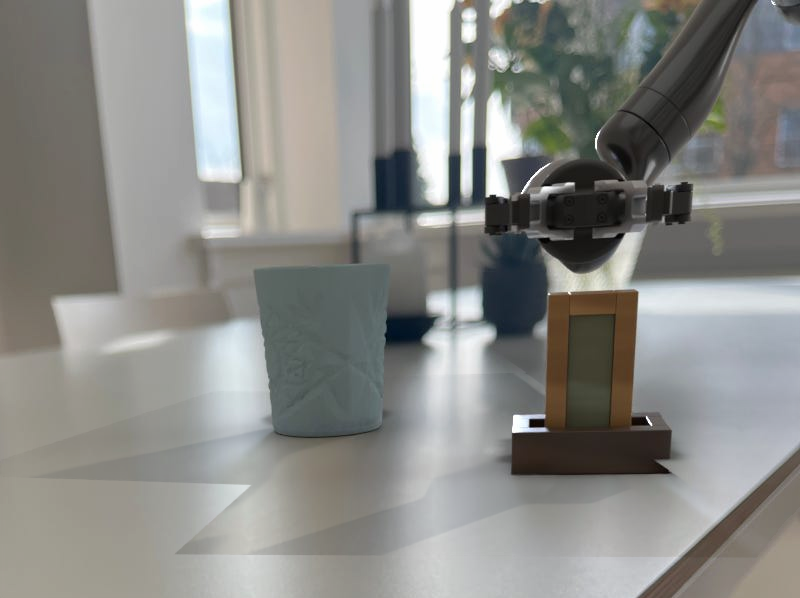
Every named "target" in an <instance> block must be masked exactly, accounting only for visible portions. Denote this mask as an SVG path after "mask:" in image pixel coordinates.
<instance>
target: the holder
mask: <svg viewBox="0 0 800 598" xmlns="http://www.w3.org/2000/svg"><path fill="white" fill-rule="evenodd" d="M544 423H545V414H514V415H513V419H512V427H511V429H512V430H511V458H510V459H511V461H510V463H511V466H510V467H511V469H510V474H511V475H584V474H585V475H589V474H591V475H592V474H593V475H594V474H595V475H597V474H599V475H600V474H601V475H602V474H668V473H670V470H669V468H667V467H665V466H664V465H662V464H661V463H660V462H658V461H657V460H670V459H671V450H672V449H671V448H672V439H673V438H672V435H673V430H672V428H671V426H670V425H669V424H668V423H667V422H666V420H665V419H664V417H663V415H662V414H661V413H660V412H659V411H653V412H651V411H650V412H645V411H644V412H632V417H631V426H598V427H544Z"/></svg>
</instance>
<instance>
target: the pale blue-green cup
mask: <svg viewBox="0 0 800 598" xmlns="http://www.w3.org/2000/svg"><path fill="white" fill-rule="evenodd" d="M252 272H253V280H254V287H255V293H256V299H257V305H258V308H259V309H258V310H259V321H260V329H261V335H262V337H263V338H262V339H263V347H264V360H265V368H266V373H267V378H268V380H269V381H268V390H269V400H270V407H271V408H270V409H271V419H272V420H271V421H272V427H273V430H274V432H275V433H276V434H278V435H283V436H289V437H290V436H291V437H299V438H300V437H301V438H302V437H303V438H304V437H306V438H323V437H338V436H349V435H356V434H362V433H367V432H370V431H371V432H372V431H374V430H377V429H379V428H381V425H382V423H383V411H384V410H383V409H384V408H383V407H384V406H383V405H384V404H383V397H384V389H385V387H384V385H385V379H384V374H385V367H384V364H385V357H386V356H385V346H386V342H387V341H386V339H387V338H386V336H385V334H386V333H387V323H386V321H387V320H388V311H387V307H388V304H389V303H388V302H389V293H390V280H391V279H390V278H391V263H390V262H364V263H362V262H361V263H342V264H341V263H340V264H339V263H337V264H317V265H292V266H291V265H290V266H272V267H271V266H269V267H257V268H253V271H252Z"/></svg>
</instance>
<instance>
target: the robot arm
mask: <svg viewBox="0 0 800 598" xmlns="http://www.w3.org/2000/svg"><path fill="white" fill-rule="evenodd" d="M758 2H759V0H700V1H699V3H698V4H697V6H696V7H695V9H694V10H693V12H692V13H691V15H690V16H689V18H688V20H687V21H686V23H685V25H684V26H683V28H682V29H681V31H680V32H679V34H678V35H677V36H676V38H675V40H673V42H672V44H671V45H670V46H669V47H668V49H667V50H666V51H665V53H664V54H663V56H661V58H660V59H659V61H658V62H657V63H656V64H655V66H654V67H652V69H651V71H649V73H648V74H647V75H646V76H645V77H644V79H643V80H642V81H641V82H640V83H639V85H637V87H636V88H635V89H634V90H633V91H632V92H631V93H630V95H629V96H628V97H627V98H626V99H625V100H624V102H623V103H622V104H621V105H620V106H619V107H618V108H617V109H616V111H615V112H614V113H613V114H612V115H611V116H610V118H609V119H608V120H607V121H606V122H605V123H604V125H603V126H602V127H601V129H600V130H599V131H598V133H597V135H596V138H595V150H596V153H597V156H598V158H599V159H598V158H592V157H591V158H590V157H583V158H577V159H571V158H560V159H556V160H554V161H552V162H550V163H547V164H546V165H544V166H543V167H542V168H540V169H539V170H538V171H537V172H535V174H534V175H533V176H532V177H531V178H530V180H528V182H527V183H526V185H525V186H524V188H523V190H522V192H521V191H520V192H514V194H511V195H510V194H509V197H504V196H499V195H498V196H497V194H496V193H495V194H489V196H485V197H484V199H483V200H484V201H483V202H484V203H483V204H484V227H483V228H484V229H483V232H484V233H483V234H487V235H488V236H503V234H507V233H508V234H509V233H510V234H511V233H514V234H513V235H521V234H522V232H525V235H526V237H527V238H528V239H536V241H537V242H538V244H539V246H540V247H541V248H542V249H543V250H544V251H545V252H546V253H547V254H549V255H550V256H551V257H553V258H554V259H556V260H558V261H559V262H560V263H561V264H562V265H563V266H564V267H565V268H566V269H568V270H569V271H570V272H572V273H573V274H577V275H586V274H590V273H593V272H595V271H598V270H599V269H601V268H602V267H603V266H605V265H606V264H607V263H608V262H609V261H610V260H611V259H612V258H613V257H614V255H615V253H616V252H617V250H618V249H619V247H620V245H621V244H622V242H623V240H624V238H625V236H626V234H629V233H641V232H642V231H644V230H645V228H646V225H652V226H653V227H657V226H658V227H659V226H661V224H662V225H663V224H665V226H673V224H677V225H686V223H688V222H689V223H690V222H691V221H692V211H693V197H694V183H689V181H680V184H674V185H668V184H663V183H662V182H656V180H657V179H658V178H659V177H660V175H661V174H662V173H663V172H664V171H665V170H666V169H667V167H668V166H669V165H670V164H671V163H672V162H673V160H675V158H676V157H677V156H678V155H679V154H680V153H681V152H682V150H683V149H684V148H685V147H686V146H687V144H688V143H689V142H691V140H692V139H693V138H694V137H695V136H696V135H697V133H698V132H699V131H700V130H701V128H702V127H703V126H704V124H705V123H706V121H707V119H708V117H709V116H710V115H711V113H712V111H713V110H714V107H715V105H716V103H717V101H718V99H719V97H720V94H721V93H722V90H723V87H724V84H725V81H726V79H727V76H728V73H729V70H730V67H731V65H732V61H733V59H734V56H735V54H736V51H737V48H738V45H739V42H740V40H741V37H742V35H743V32H744V31H745V28H746V25H747V23H748V21H749V19H750V17H751V15H752V13H753V10H754V9H755V7H756V5H757V3H758ZM770 2H771V4H772V6H773V8H774V10H775V11H776V13H777V14H778V16H779V17H780V18H781V19H782V21H784V22H786V23H787V24H789V25H792V26H795V27H800V0H770Z"/></svg>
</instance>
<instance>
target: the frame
mask: <svg viewBox="0 0 800 598" xmlns="http://www.w3.org/2000/svg"><path fill="white" fill-rule="evenodd" d="M639 294H640V291H639V290H637V289H635V288H629V289H628V288H625V289H606V290H605V289H604V290H603V289H602V290H581V291H579V290H578V291H558V292H557V291H555V292H548V293H547V314H546V315H547V316H546V317H547V321H546V351H545V352H546V353H545V386H544V387H545V392H544V415H545V423H544V427H598V426H631V417H632V413H633V400H634V399H633V398H634V381H635V363H636V361H635V360H636V344H637V328H638V327H637V326H638V311H639Z"/></svg>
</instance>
